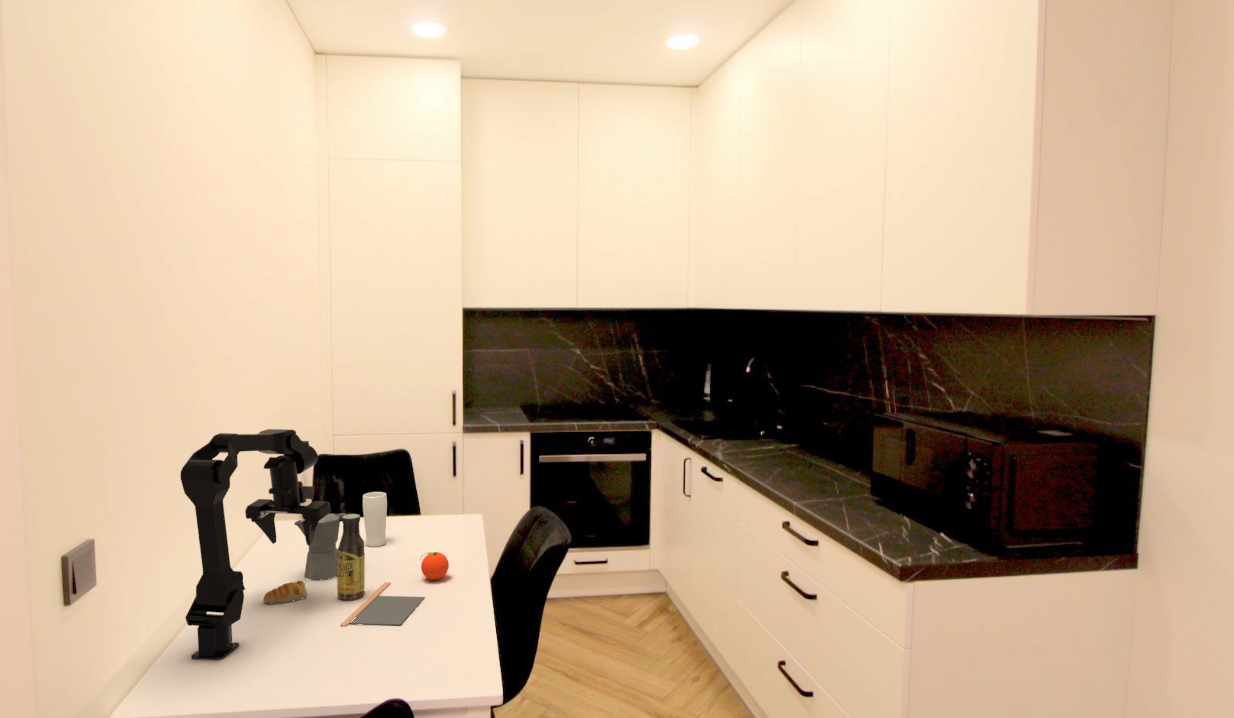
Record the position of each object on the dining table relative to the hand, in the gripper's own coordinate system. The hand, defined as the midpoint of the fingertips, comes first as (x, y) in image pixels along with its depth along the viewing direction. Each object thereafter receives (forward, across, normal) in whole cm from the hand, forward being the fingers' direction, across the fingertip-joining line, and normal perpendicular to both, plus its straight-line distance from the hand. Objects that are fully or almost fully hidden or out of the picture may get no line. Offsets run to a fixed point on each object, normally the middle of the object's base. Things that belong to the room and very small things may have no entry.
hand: (292, 543), depth 181 cm
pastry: (+14, +2, +1) cm, 15 cm away
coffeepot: (+16, +2, -16) cm, 23 cm away
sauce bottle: (+14, -12, -2) cm, 19 cm away
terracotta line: (+14, -18, +1) cm, 23 cm away
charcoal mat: (+13, -25, +4) cm, 29 cm away
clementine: (+16, -27, -17) cm, 36 cm away
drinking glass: (+20, +1, -41) cm, 46 cm away
